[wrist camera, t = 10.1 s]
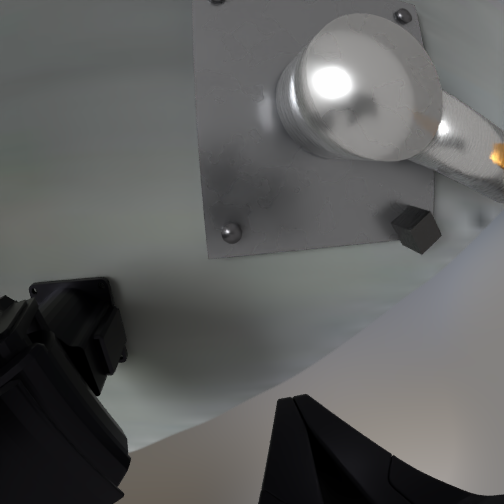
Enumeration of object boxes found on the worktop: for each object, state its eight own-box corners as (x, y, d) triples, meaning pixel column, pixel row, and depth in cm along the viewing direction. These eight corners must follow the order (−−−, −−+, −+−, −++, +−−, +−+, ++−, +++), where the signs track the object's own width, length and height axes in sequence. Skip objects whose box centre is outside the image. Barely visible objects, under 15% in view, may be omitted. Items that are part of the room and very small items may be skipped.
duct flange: (208, 260, 20) (209, 279, 17) (192, -13, 15) (191, -39, 12) (423, 238, 22) (451, 250, 19) (407, 9, 17) (432, -5, 13)
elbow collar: (264, 142, 17) (293, 133, 11) (288, 35, 16) (324, -12, 10) (466, 208, 20) (526, 226, 14) (481, 125, 19) (541, 126, 13)
